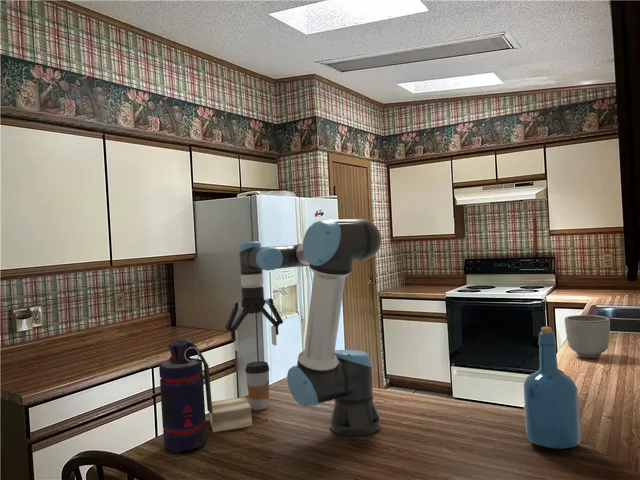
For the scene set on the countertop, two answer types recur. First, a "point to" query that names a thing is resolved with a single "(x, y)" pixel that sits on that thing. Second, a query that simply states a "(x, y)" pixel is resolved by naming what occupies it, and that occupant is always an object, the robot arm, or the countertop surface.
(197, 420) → the grenade
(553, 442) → the wine bottle
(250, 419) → the maple block
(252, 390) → the coffee cup
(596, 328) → the planter
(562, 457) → the countertop surface
